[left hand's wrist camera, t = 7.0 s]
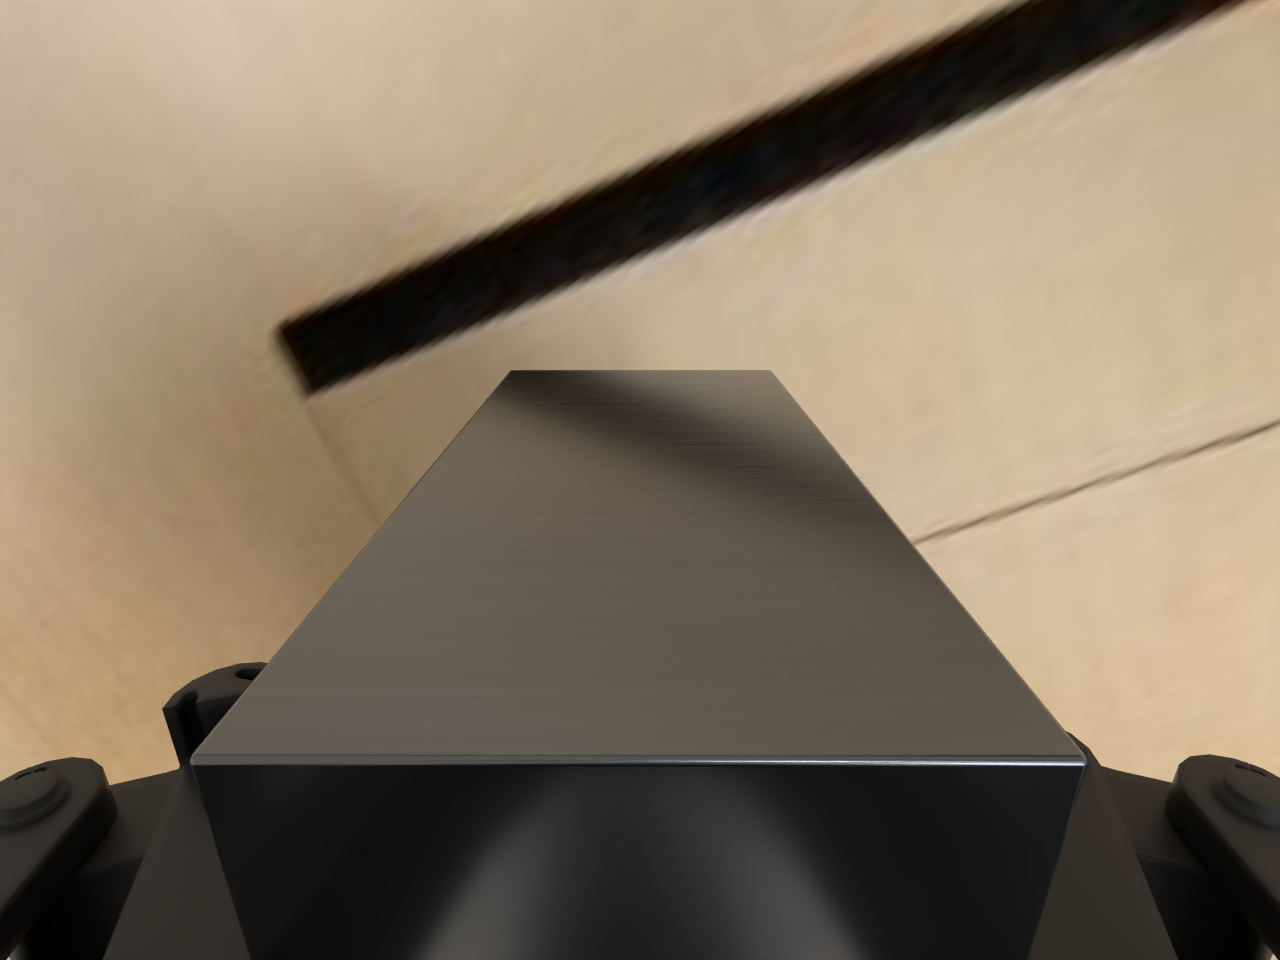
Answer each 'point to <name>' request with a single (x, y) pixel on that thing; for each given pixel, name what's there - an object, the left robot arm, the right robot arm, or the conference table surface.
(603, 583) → the box
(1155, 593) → the conference table surface
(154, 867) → the left robot arm
